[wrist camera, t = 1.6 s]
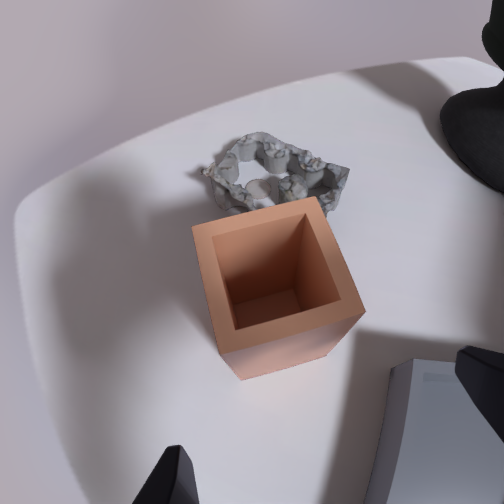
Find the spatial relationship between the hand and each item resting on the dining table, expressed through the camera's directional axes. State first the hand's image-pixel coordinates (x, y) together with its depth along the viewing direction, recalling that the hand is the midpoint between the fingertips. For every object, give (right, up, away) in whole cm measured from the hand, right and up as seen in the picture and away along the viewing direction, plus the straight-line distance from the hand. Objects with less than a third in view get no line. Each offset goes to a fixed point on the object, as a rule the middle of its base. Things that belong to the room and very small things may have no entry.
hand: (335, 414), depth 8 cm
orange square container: (-1, -1, +14) cm, 14 cm away
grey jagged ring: (0, +9, +20) cm, 22 cm away
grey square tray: (+13, -12, +7) cm, 19 cm away
